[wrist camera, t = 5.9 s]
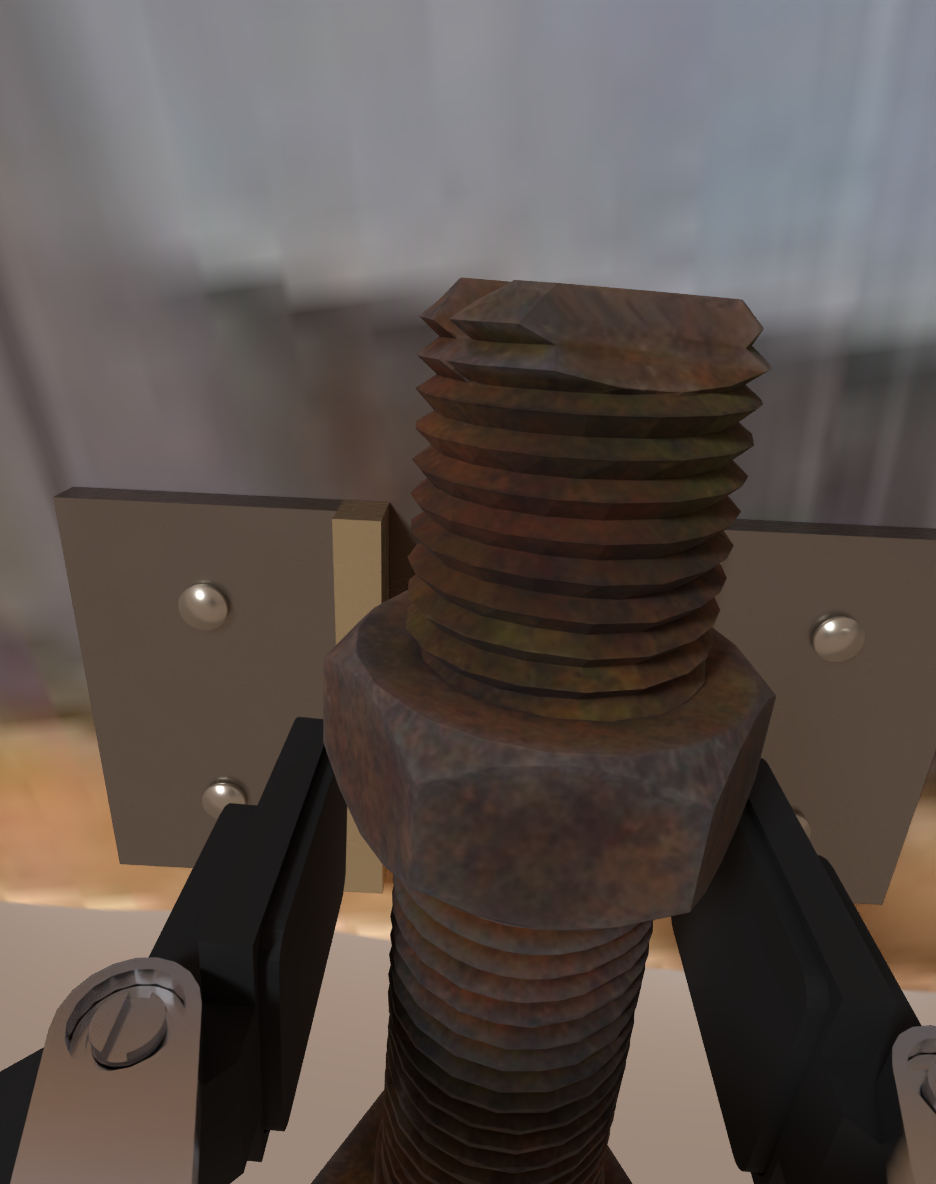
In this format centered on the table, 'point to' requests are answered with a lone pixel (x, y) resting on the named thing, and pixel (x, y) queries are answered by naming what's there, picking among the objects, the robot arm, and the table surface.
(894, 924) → the table surface
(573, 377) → the bolt
